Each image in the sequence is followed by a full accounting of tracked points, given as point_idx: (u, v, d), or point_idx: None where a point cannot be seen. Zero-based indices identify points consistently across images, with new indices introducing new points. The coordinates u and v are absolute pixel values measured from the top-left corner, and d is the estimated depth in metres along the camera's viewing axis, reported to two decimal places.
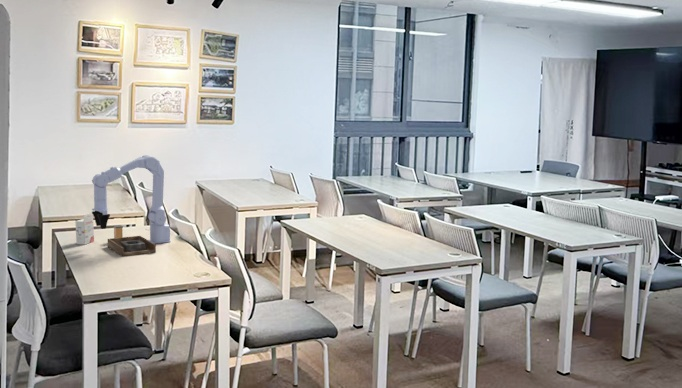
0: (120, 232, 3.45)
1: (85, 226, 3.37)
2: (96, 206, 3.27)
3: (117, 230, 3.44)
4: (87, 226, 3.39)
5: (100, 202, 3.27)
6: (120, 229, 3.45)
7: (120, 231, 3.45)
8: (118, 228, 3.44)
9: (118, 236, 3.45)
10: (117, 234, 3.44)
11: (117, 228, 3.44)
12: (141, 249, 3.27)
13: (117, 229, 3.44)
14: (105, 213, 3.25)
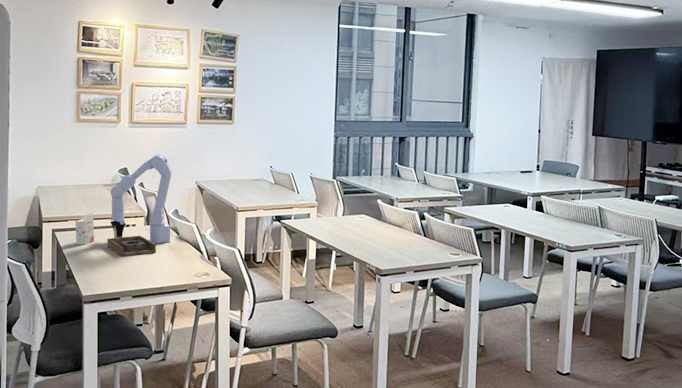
0: None
1: (85, 226, 3.37)
2: (114, 216, 3.42)
3: None
4: (87, 226, 3.39)
5: (117, 212, 3.42)
6: None
7: None
8: None
9: None
10: None
11: None
12: (141, 249, 3.27)
13: None
14: (122, 223, 3.39)
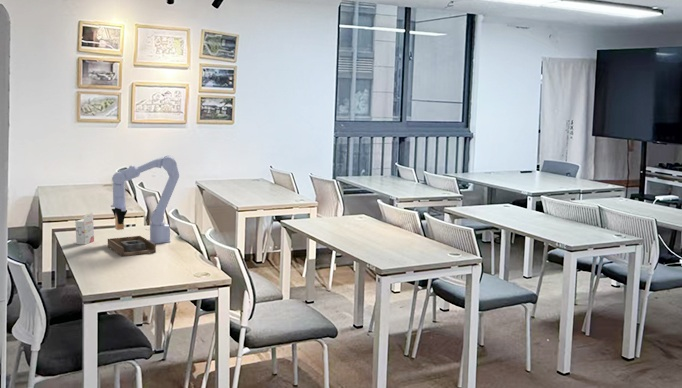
0: None
1: (85, 226, 3.37)
2: (115, 203, 3.39)
3: None
4: (87, 226, 3.39)
5: (119, 199, 3.39)
6: None
7: None
8: None
9: None
10: None
11: None
12: (141, 249, 3.27)
13: None
14: (124, 210, 3.36)
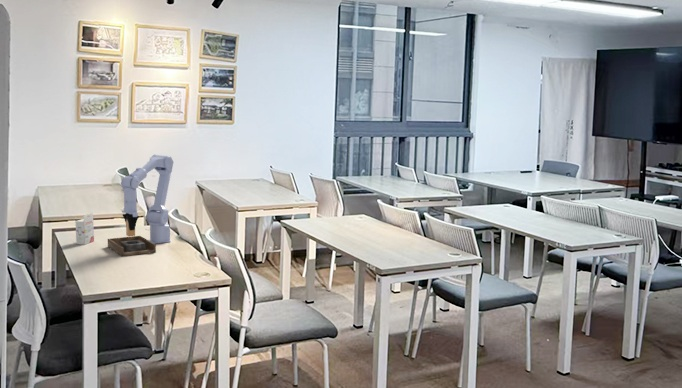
0: None
1: (85, 226, 3.37)
2: (126, 208, 3.25)
3: None
4: (87, 226, 3.39)
5: (130, 204, 3.25)
6: None
7: None
8: None
9: None
10: None
11: None
12: (141, 249, 3.27)
13: None
14: (135, 215, 3.22)
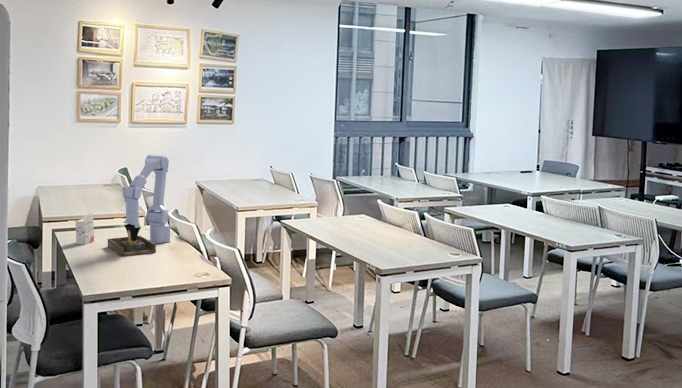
0: None
1: (85, 226, 3.37)
2: (128, 219, 3.24)
3: None
4: (87, 226, 3.39)
5: (132, 215, 3.24)
6: None
7: None
8: None
9: None
10: None
11: None
12: (141, 249, 3.27)
13: None
14: (137, 226, 3.21)
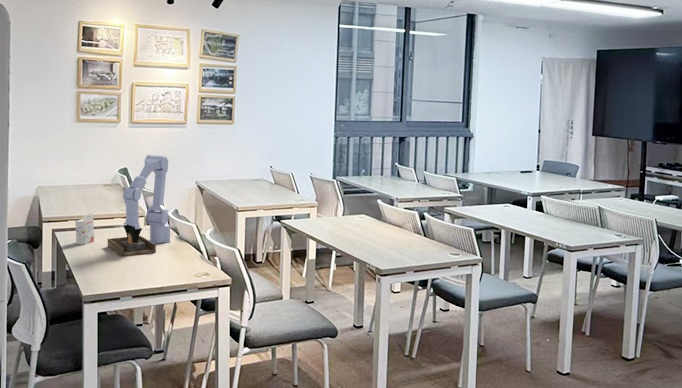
0: None
1: (85, 226, 3.37)
2: (128, 220, 3.24)
3: (131, 237, 3.26)
4: (87, 226, 3.39)
5: (132, 216, 3.24)
6: None
7: None
8: None
9: None
10: (131, 242, 3.26)
11: None
12: (141, 249, 3.27)
13: None
14: (137, 227, 3.21)
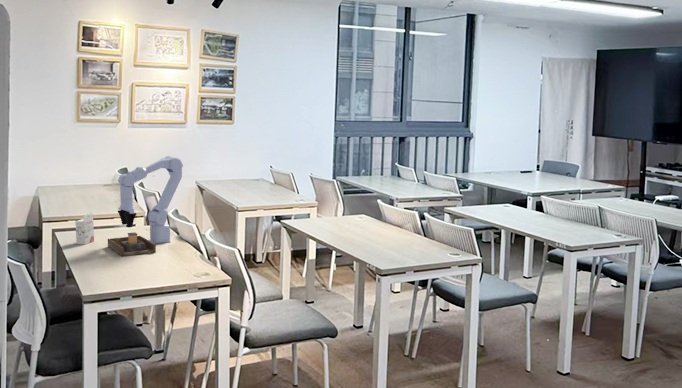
0: (135, 240, 3.27)
1: (85, 226, 3.37)
2: (123, 205, 3.33)
3: (131, 237, 3.26)
4: (87, 226, 3.39)
5: (127, 201, 3.33)
6: (135, 236, 3.27)
7: (135, 239, 3.27)
8: (132, 235, 3.26)
9: None
10: (131, 242, 3.26)
11: (131, 235, 3.26)
12: (141, 249, 3.27)
13: (132, 236, 3.26)
14: (132, 212, 3.31)
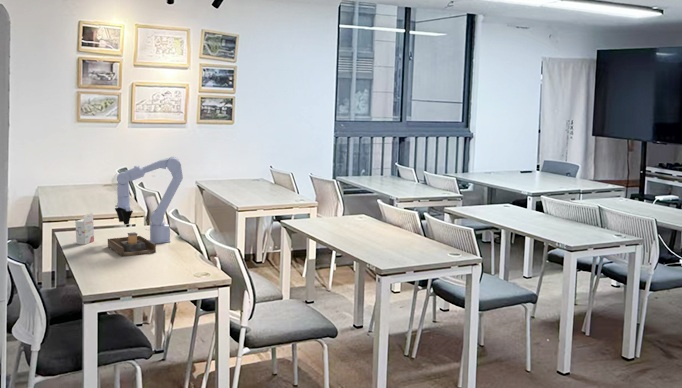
0: (135, 240, 3.27)
1: (85, 226, 3.37)
2: (119, 203, 3.40)
3: (131, 237, 3.26)
4: (87, 226, 3.39)
5: (123, 199, 3.39)
6: (135, 236, 3.27)
7: (135, 239, 3.27)
8: (132, 235, 3.26)
9: None
10: (131, 242, 3.26)
11: (131, 235, 3.26)
12: (141, 249, 3.27)
13: (132, 236, 3.26)
14: (128, 209, 3.37)
